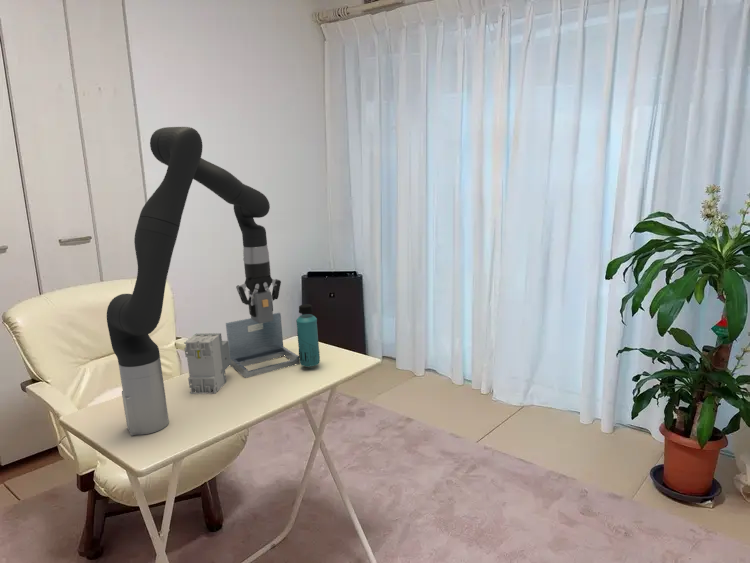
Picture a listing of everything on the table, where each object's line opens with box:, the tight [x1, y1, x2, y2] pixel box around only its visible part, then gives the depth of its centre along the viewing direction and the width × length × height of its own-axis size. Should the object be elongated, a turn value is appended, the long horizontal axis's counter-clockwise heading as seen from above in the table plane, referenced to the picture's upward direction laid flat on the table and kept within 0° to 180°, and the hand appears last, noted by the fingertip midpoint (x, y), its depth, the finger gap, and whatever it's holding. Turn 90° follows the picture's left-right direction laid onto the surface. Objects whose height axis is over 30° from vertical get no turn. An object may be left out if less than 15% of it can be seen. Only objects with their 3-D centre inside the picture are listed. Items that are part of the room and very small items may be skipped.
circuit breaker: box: [183, 332, 230, 395], centre depth 157 cm, size 8×14×15 cm, turn 174°
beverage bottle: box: [296, 303, 321, 367], centre depth 165 cm, size 6×7×20 cm
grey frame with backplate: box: [225, 312, 301, 379], centre depth 170 cm, size 18×13×14 cm
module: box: [248, 290, 274, 324], centre depth 166 cm, size 4×8×9 cm, turn 33°
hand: (261, 314), depth 167 cm, fingers closed on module, 4 cm apart
